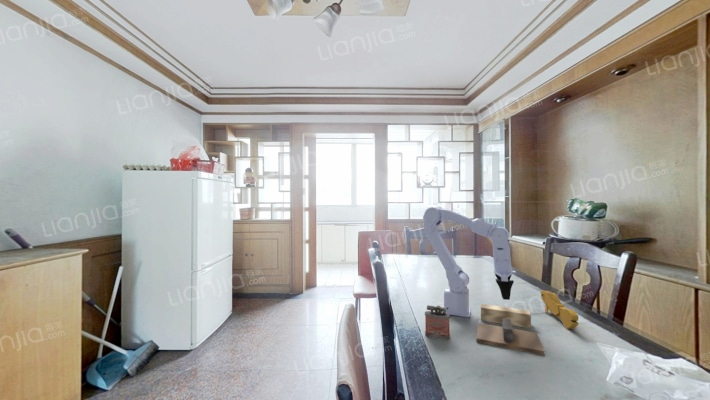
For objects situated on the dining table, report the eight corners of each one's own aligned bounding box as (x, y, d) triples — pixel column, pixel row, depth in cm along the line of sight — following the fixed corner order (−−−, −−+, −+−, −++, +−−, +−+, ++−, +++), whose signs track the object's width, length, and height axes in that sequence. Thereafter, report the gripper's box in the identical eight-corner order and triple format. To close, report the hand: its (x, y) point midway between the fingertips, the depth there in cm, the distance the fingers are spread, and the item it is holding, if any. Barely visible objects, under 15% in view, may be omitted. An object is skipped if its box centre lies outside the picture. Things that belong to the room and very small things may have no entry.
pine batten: (481, 320, 103) (480, 307, 103) (481, 316, 107) (481, 303, 107) (531, 329, 96) (530, 314, 96) (529, 324, 100) (529, 310, 100)
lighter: (450, 335, 92) (449, 305, 92) (450, 340, 89) (449, 309, 89) (425, 331, 95) (425, 303, 94) (424, 336, 91) (424, 306, 91)
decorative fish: (538, 303, 115) (540, 282, 112) (546, 304, 114) (549, 282, 112) (567, 341, 94) (570, 316, 91) (577, 342, 93) (581, 316, 91)
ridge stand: (476, 342, 87) (476, 326, 87) (477, 326, 98) (477, 312, 98) (544, 355, 79) (543, 338, 79) (537, 336, 90) (537, 321, 90)
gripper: (516, 263, 93) (520, 303, 93) (512, 255, 107) (516, 290, 106) (493, 263, 97) (497, 301, 96) (492, 255, 110) (495, 289, 109)
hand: (505, 295), depth 101 cm, fingers open, 7 cm apart
